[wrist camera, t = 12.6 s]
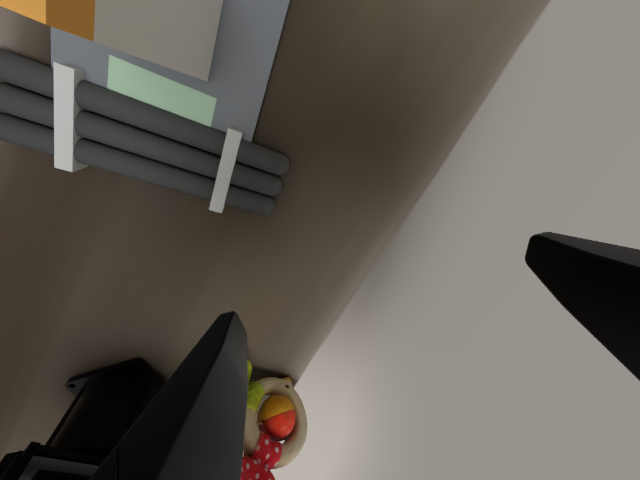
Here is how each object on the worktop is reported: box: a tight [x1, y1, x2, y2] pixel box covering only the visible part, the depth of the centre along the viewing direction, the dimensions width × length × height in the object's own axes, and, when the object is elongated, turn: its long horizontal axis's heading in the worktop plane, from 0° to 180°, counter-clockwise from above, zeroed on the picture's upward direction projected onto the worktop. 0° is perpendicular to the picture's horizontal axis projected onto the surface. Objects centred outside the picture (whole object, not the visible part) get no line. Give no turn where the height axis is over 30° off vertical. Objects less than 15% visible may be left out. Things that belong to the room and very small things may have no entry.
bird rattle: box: [241, 359, 307, 480], centre depth 23 cm, size 6×11×9 cm
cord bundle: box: [0, 48, 290, 216], centre depth 15 cm, size 15×5×2 cm, turn 68°
